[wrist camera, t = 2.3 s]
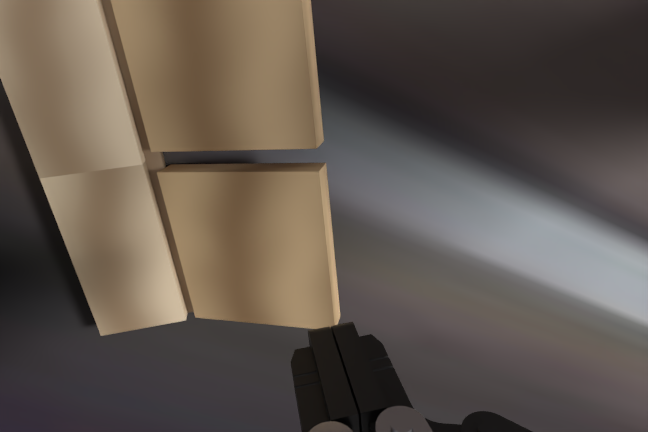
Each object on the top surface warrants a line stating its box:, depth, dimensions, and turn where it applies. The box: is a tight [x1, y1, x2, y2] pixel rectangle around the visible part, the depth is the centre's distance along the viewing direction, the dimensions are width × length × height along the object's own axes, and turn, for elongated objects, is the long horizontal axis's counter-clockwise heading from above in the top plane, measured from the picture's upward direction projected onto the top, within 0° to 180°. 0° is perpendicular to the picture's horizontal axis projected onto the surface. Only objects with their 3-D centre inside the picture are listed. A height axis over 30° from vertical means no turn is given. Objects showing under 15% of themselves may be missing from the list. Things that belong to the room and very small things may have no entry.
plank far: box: [157, 163, 340, 329], centre depth 21 cm, size 8×8×1 cm
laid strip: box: [0, 0, 194, 336], centre depth 20 cm, size 5×18×1 cm, turn 5°
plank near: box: [111, 0, 324, 152], centre depth 17 cm, size 8×8×1 cm
